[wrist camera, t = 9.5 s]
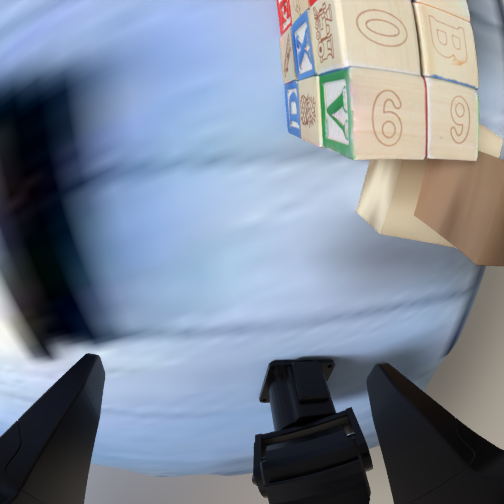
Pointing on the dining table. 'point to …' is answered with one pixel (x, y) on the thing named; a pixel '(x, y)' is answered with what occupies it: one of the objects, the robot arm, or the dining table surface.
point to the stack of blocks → (381, 77)
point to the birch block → (406, 194)
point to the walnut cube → (466, 205)
